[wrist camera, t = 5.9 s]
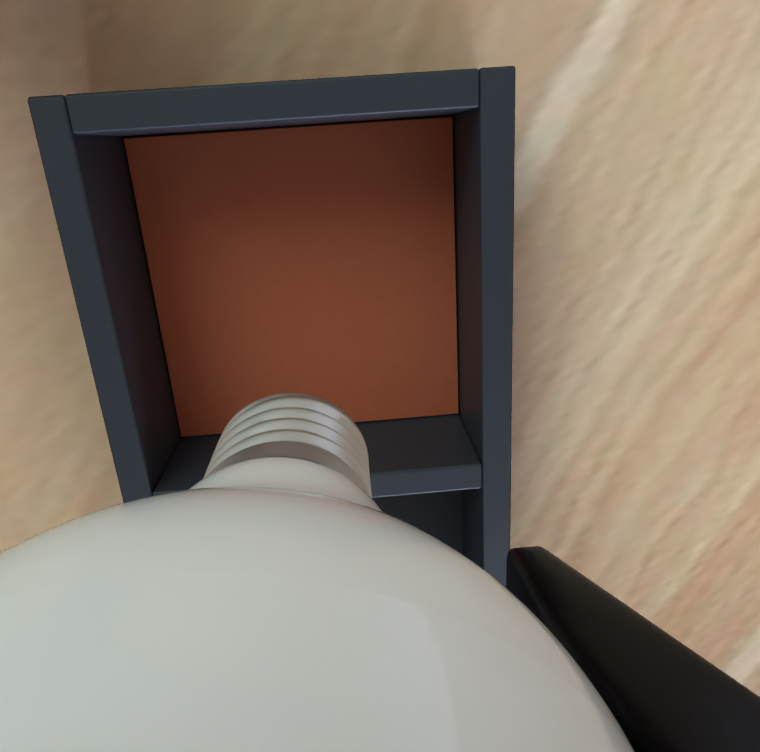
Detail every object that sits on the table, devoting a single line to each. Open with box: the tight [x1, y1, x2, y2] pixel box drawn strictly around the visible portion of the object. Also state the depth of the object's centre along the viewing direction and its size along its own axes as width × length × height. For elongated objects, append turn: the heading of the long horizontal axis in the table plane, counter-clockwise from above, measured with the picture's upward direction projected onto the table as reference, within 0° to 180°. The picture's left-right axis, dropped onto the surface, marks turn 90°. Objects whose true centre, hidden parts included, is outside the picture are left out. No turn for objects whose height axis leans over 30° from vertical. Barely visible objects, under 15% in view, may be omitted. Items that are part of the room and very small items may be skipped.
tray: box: [28, 66, 515, 587], centre depth 19 cm, size 11×20×4 cm, turn 4°
